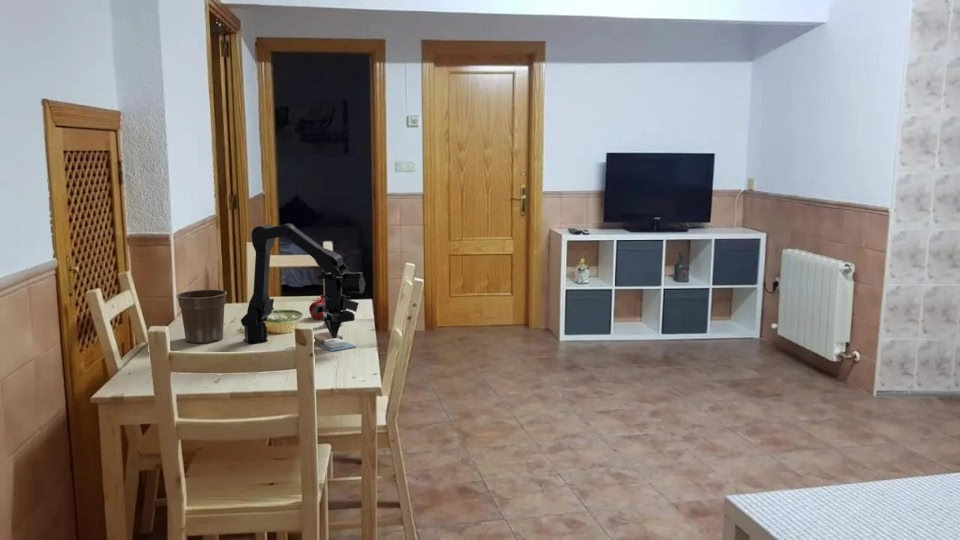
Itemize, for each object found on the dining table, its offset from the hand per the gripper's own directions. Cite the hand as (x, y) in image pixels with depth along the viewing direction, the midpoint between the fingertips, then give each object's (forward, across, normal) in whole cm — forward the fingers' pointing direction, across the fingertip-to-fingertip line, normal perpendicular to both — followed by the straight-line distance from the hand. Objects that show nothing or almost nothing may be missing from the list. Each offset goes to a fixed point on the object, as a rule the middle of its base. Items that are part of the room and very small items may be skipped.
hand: (334, 338), depth 253 cm
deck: (+2, +6, 0) cm, 7 cm away
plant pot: (+3, +34, +32) cm, 47 cm away
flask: (+3, +27, -13) cm, 30 cm away
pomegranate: (+3, +40, -15) cm, 43 cm away
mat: (+2, -2, 0) cm, 4 cm away
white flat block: (+2, -1, 0) cm, 2 cm away
